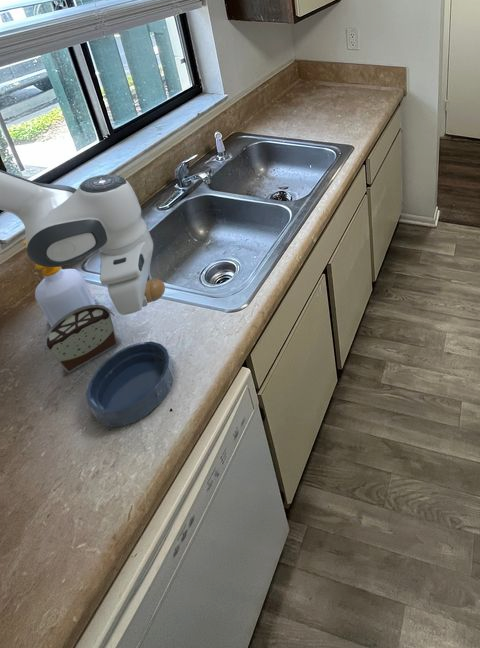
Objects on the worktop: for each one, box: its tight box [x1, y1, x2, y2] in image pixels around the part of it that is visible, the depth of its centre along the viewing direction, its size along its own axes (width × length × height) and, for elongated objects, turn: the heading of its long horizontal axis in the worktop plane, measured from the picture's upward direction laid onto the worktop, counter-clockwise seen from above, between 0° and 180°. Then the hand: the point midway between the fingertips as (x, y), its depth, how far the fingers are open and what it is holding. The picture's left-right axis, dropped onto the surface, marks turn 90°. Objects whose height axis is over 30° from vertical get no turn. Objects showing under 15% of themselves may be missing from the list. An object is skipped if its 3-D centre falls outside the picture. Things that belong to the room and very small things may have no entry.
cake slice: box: [43, 303, 119, 374], centre depth 95 cm, size 12×6×10 cm, turn 135°
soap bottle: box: [23, 238, 96, 328], centre depth 100 cm, size 9×9×25 cm
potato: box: [145, 278, 166, 304], centre depth 95 cm, size 8×5×5 cm, turn 111°
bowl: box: [85, 341, 175, 428], centre depth 87 cm, size 14×14×5 cm
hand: (145, 293), depth 95 cm, fingers closed on potato, 4 cm apart
